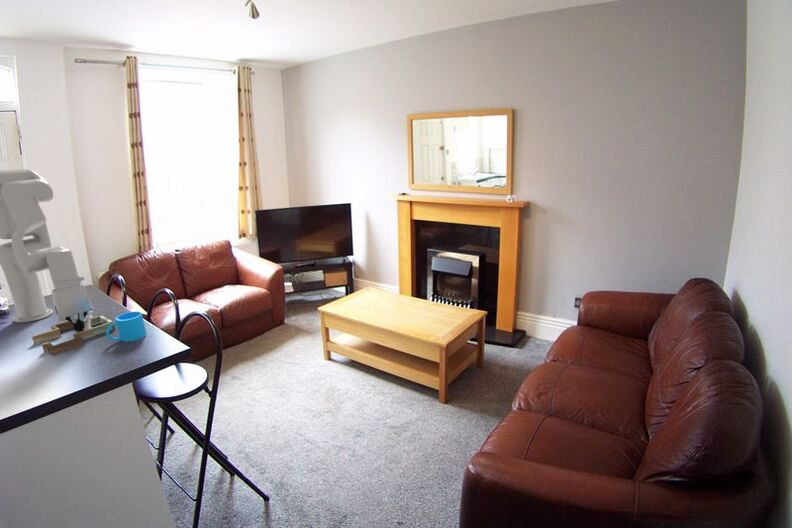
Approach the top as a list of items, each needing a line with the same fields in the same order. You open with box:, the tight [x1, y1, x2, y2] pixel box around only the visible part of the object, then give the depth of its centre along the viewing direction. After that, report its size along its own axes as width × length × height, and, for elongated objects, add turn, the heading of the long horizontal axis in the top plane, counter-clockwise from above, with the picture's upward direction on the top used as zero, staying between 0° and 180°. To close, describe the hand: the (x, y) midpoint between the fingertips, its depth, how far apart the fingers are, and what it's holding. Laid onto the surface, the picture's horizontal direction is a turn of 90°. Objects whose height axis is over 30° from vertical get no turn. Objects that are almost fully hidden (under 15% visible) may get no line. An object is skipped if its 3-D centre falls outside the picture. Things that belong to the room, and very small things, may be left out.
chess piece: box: [84, 306, 94, 330], centre depth 162 cm, size 5×5×10 cm
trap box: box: [31, 314, 116, 356], centre depth 160 cm, size 22×22×3 cm
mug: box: [105, 311, 147, 342], centre depth 156 cm, size 12×8×8 cm
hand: (80, 331), depth 161 cm, fingers closed
